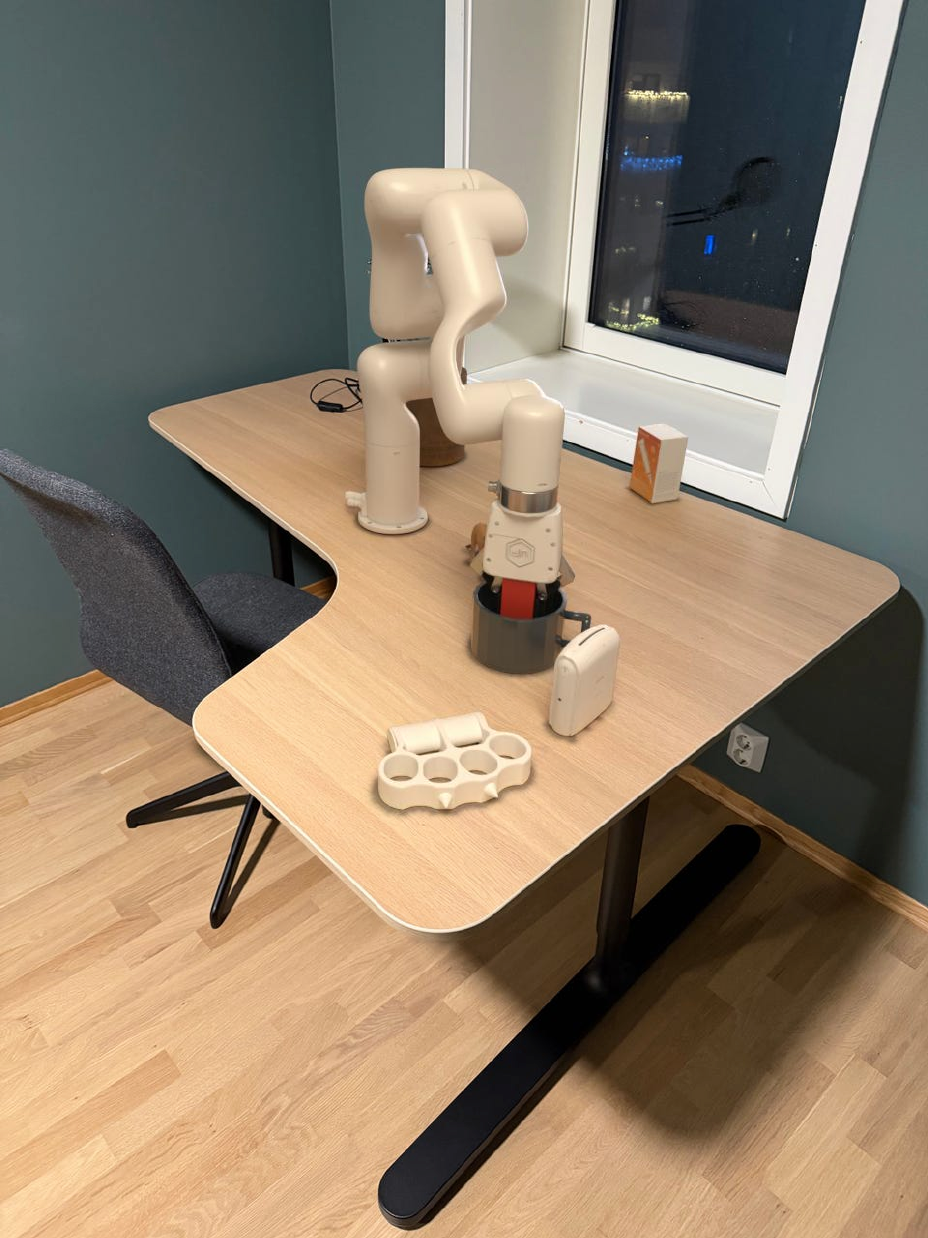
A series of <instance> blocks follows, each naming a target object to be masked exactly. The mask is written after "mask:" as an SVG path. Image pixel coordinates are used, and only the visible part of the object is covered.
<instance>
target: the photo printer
mask: <svg viewBox="0 0 928 1238" xmlns="http://www.w3.org/2000/svg"><path fill="white" fill-rule="evenodd" d="M580 633H581V632H580ZM580 633H579V634H578V635H577V636H575V637H573V639H571V640H572V641H571V642H570V643H568V644H567V645H566V646H565V648H562V650H561V652H560V654H559V655H558V657H557V659H556V661H555V664H554V665H553V676H552V684H551V685H552V688H551V695H550V706H549V713H548V714H549V715H548V724H549V725H550V726H551V727H550V728H551V729H552V730H553V732H555V733H556V734H558V735H560V736H563V737H572V736H575V735H576V734H578V733H580V732H581V731H582V730H584V729H585V728H586V727H587V726H588V725H590V724H591V723H592V722H594V721H595V719H597V717H599V716H600V715H601V714H603V712H605V710H607V709H608V708H609V706H610V705H611V703H612V700H613V696H614V688H615V682H616V674H617V668H618V661H619V655H620V648H621V639H620V635H619V632H618V631H617V630H616V628H614V627H612V626H609V625H607V624H598V625H595V626H592V627H590V628H589V629H587V630H585V631H584V632H582V633H581V634H580Z"/></svg>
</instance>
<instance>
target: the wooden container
mask: <svg viewBox="0 0 928 1238" xmlns="http://www.w3.org/2000/svg"><path fill="white" fill-rule="evenodd" d="M460 379H461V382H462V385H464V384H468V370H467V368H465V367H464V366H462V370H461V376H460ZM406 407H407V408H408V410H409V411H410V412H411V413H412V414H413V415H414V416H415V418H416V419H417V421H418V424H419V429H420V462H419V467H444V466H448V465H452V464H455V463H458V462H459V461H461V460H462V459H463V458H464V456H465V445H460V444H457V443H454V442H452V441H451V440H450V439H449V438H448V437H447V436H446V435H445V433H444V432H443V430H442V427H441V425H440V422H439V419H438V416H437V413H436V409H435V405H434V402H433V398H425V399H416V400H411V401H408V402H406Z"/></svg>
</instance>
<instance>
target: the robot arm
mask: <svg viewBox="0 0 928 1238" xmlns="http://www.w3.org/2000/svg"><path fill="white" fill-rule="evenodd" d="M363 199H364V200H363V201H364V202H363V207H364V216H365V221H366V225H367V229H368V233H369V236H370V242H371V243H370V244H371V264H370V265H371V266H370V267H371V268H370V282H369V283H370V285H369V309H368V311H369V321H370V326H371V329H372V331H373V332H374V334H375V335H377V336H378V337H380V338H382V339H386V340H393V341H389V342H381V343H376V344H373V345H370V346H368V347H366V348H365V349H364V350H363V351H362V352H360V354H359V356H358V357H357V361H356V374H357V380H358V385H359V391H360V396H361V397H360V398H361V404H362V412H363V428H364V429H363V432H364V435H363V437H364V461H365V463H364V465H365V469H364V470H365V491H363V492H357V491H352V490H347V491H346V492H345V496H344V499H345V500H344V501H345V502H346V505H347V507H352V508H358V509H359V511H358V513H357V521H358V523H359V525H360V526H361V527H363V528H364V529H366V530H368V531H371V532H374V533H377V534H383V535H401V534H402V535H403V534H408V533H412V532H416V531H418V530H421V528H423V527H425V525H426V524H427V523H428V520H429V519H428V512H427V510H426V509H425V508H424V507H422V506H421V505H420V466H419V462H420V429H419V424H418V421H417V419H416V418H415V416H414V415H413V414H412V413H411V412H410V411H409V410H408V408H407V407H406V402H408V401H411V400H416V399H425V398H433V402H434V405H435V409H436V413H437V416H438V419H439V422H440V425H441V427H442V430H443V432H444V433H445V435H446V436H447V437H448V438H449V439H450V440H451V441H452V442H454V443H457V444H460V445H464V446H468V445H477V444H483V443H490V442H497V441H498V442H499V441H501V451H500V452H501V453H500V465H499V466H500V468H499V478H498V480H494V481H491V480H490V481H489V482H488V485H487V492H489V493H493V494H495V496H496V498H495V499H494V500H493V501H492V502H491V506H490V510H489V514H488V517H487V524H486V525H487V529H486V536H485V545H484V548H483V549H482V550H481V551H480V552H479V551H478V553H477V554H476V555H474V558H473V560H472V562H471V563H469V567H470V568H471V570H473V571H475V572H476V573H477V574H478V575H480V576H481V578H482V577H483V579H484V580H485V581H486V582H487V583H488V584H489V585H490V586H491V590H492V591H493V592H494V598H493V609H496V610H497V612H496V614H498V615H500V612H501V597H502V581H503V578H507V579H513V580H520V581H526V582H533V583H536V586H537V595H536V597H535V600H534V610H533V619H534V618H540V617H544V615H545V611H546V601H547V597H548V596H549V595H551V594H552V593H554V592H555V591H557V590H558V589H559V588H560V589H561V588H564V587H566V586H568V585H570V584H572V583H574V582H575V578H576V574H575V572H574V571H573V569H572V567H571V566H570V564H569V563H568V561H567V560H566V558H565V556H564V554H563V547H564V524H563V523H564V522H563V512H562V506H561V504H560V503H559V502H558V495H559V481H560V471H561V464H562V463H561V460H562V451H563V442H564V441H563V440H564V431H565V421H566V415H565V414H566V411H565V409H564V406H563V405H562V404H561V402H560V401H558V400H556V399H555V398H551V397H549V396H547V395H546V394H545V392H544V391H543V389H542V388H541V386H539V385H538V384H537V383H536V382H535V381H533V380H531V379H528V378H512V379H504V380H491V381H482V382H471V383H467V384H464V385H462V382H461V379H460V376H461V370H462V367H463V362H464V355H465V354H464V353H465V348H466V347H465V346H466V340H467V339H466V338H467V335H468V334H470V333H472V332H474V331H475V330H477V329H480V328H481V327H483V326H484V325H486V324H488V323H490V322H491V321H492V320H494V319H495V318H496V317H498V316H499V315H500V314H501V313H502V312H503V310H504V309H505V307H506V305H507V299H508V297H507V292H506V289H505V286H504V285H505V284H504V282H503V277H502V275H501V270H500V267H499V264H498V260H497V258H502V257H503V258H504V257H512V256H515V255H517V254H519V253H521V251H522V250H523V249H524V247H525V245H526V244H527V241H528V236H529V219H528V213H527V211H526V208H525V205H524V204H523V201H522V200H521V198H520V196H519V195H518V194H517V193H516V192H515V191H514V190H513V189H512V188H511V187H509V186H508V185H506V184H505V183H503V182H501V181H499V180H498V179H496V178H495V177H492V176H491V175H489V174H487V173H486V172H484V171H482V170H479V169H474V168H461V167H460V168H459V167H458V168H457V167H455V168H454V167H453V168H451V167H450V168H447V167H446V168H445V167H444V168H443V167H441V168H440V167H439V168H438V167H437V168H435V167H433V168H432V167H401V168H400V167H399V168H389V169H383V170H380V171H378V172H376V173H374V174H372V176H371V177H370V178H369V179H368V182H367V183H366V187H365V191H364V198H363ZM428 261H429V263H430V267H431V270H432V273H430V274H429V273H428V272H427V270H428ZM427 273H428V274H427ZM427 338H428V339H427ZM414 339H416V340H414ZM394 340H395V341H394ZM397 340H398V341H397ZM399 340H401V341H399ZM488 559H489V560H488ZM559 574H560V575H559ZM483 579H482V580H483ZM484 580H483V581H484Z"/></svg>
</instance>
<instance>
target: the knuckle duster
mask: <svg viewBox="0 0 928 1238" xmlns="http://www.w3.org/2000/svg"><path fill="white" fill-rule="evenodd" d="M386 735H387V740H388V741H387V742H388V745H389V748H390V751H391V753H388V754H387V755H386V756H384V757H383V758H382V759H381V760H380V761H379V764H378V766H377V792H378V796H379V798H380V799H381V801H382V802H383V803H384V804H386V805H387V806H389V807H391V808H393V809H396V810H401V811H404V810H406V809H409V808H412V807H428V808H432V809H434V810H455V808H457V807H459V806H461V805H464V804H470V803H480V804H483V803H485V802H487V801H489V800H491V799H494V798H497V799H498V798H499V795H498V794H499V793H500V792H501V791H502V790H505V789H506V788H509V787H512V786H522V785H523V784H525V783H526V781H527V780H528V779H529V778H530V776H531V775H530V774H531V766H532V755H533V750H532V746H531V744H530V743H529V741H527V739H526V738H524V737H522V736H521V735H519V734H517V733H513V732H510V731H509V732H508V731H497V730H495V729H494V728H491V727H490V726H489V724H488V722H487V719H486V717H485V715H484V714H483V713H482V712H481V711H477V710H476V711H475V710H474V711H470V713H464V714H458V715H453V716H452V715H451V716H447V717H441V718H431V719H429V720H425V721H420V722H414V723H413V722H412V723H409V724H403V725H397V726H395V725H392V726H388V727H387V729H386ZM476 743H478V744H476ZM471 744H474V745H471ZM465 745H468V746H465ZM461 746H464V747H461ZM433 751H434V752H433ZM436 751H437V752H436ZM430 752H432V753H430ZM425 753H427V754H425ZM420 754H422V755H420ZM502 756H503V757H502ZM505 757H510V758H505ZM511 758H512V759H511ZM471 771H479V772H482V773H485V774H476V773H473V772H471ZM395 777H408V778H410V779H408V780H404V781H402V780H401V781H399V780H398V781H397V780H393V779H392V778H395ZM436 778H443V779H447V780H449V781H447V782H435V781H431V780H432V779H436Z"/></svg>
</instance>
